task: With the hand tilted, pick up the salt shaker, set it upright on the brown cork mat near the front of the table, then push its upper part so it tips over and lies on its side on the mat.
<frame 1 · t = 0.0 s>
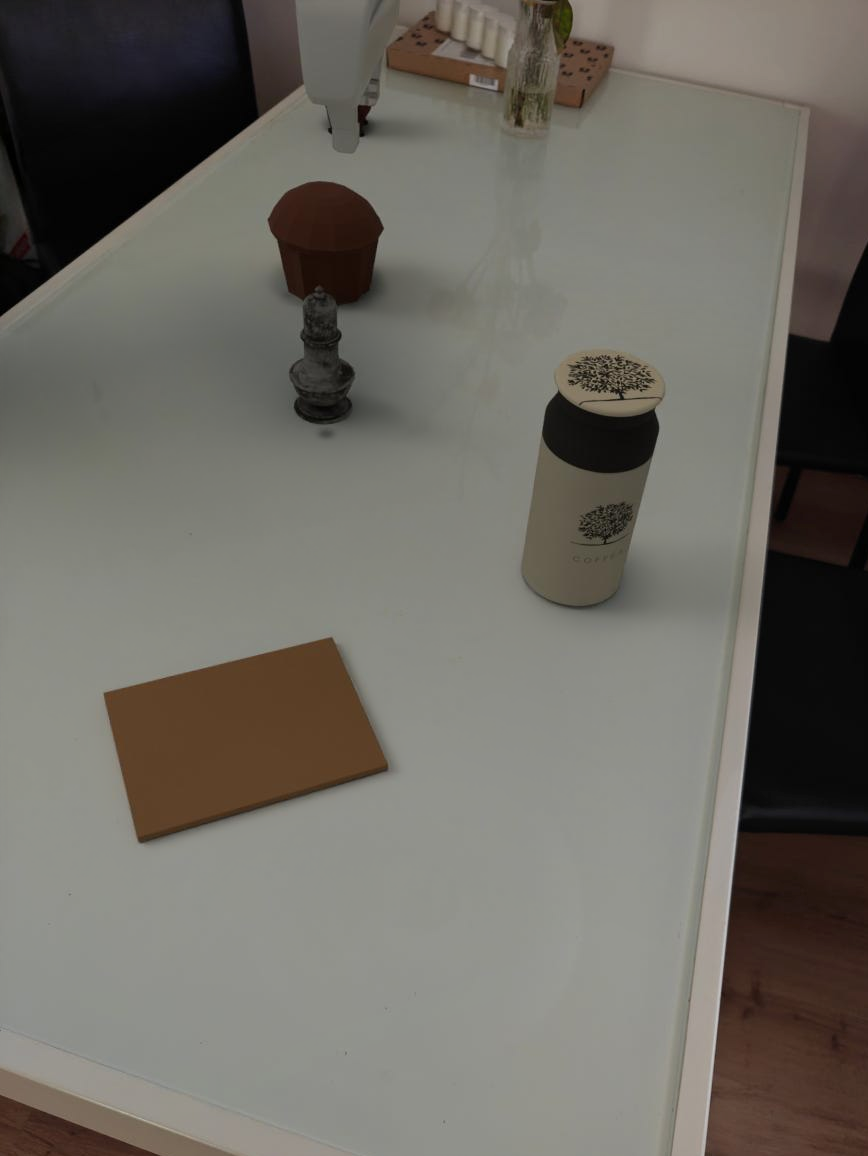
hand: (357, 125, 80), 23 cm above the table, tool pointing down, fingers open, 8 cm apart
cork mat: (244, 733, 68), on the table
travel mug: (570, 575, 82), on the table
salt shaker: (323, 408, 94), on the table
mate gourd: (347, 128, 137), on the table
muffin: (327, 286, 109), on the table
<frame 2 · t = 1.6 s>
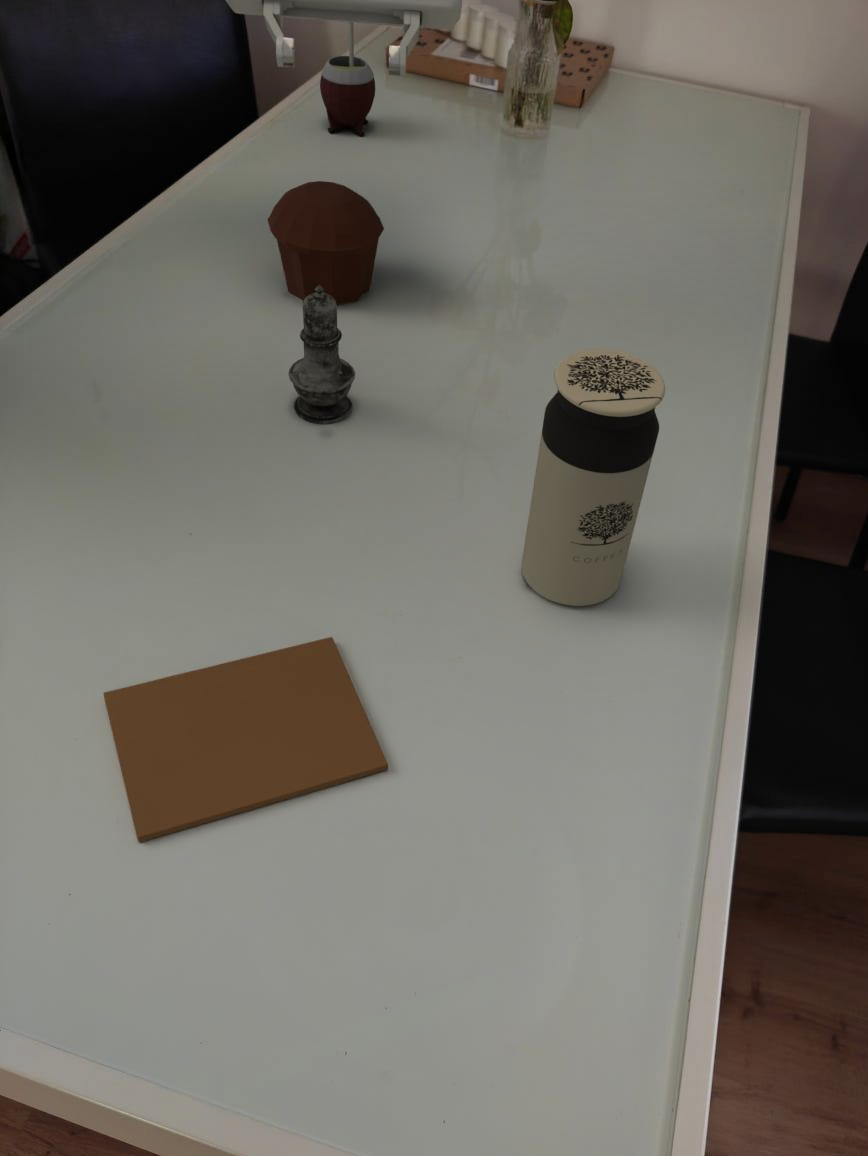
hand: (341, 68, 87), 23 cm above the table, tool tilted 45°, fingers open, 8 cm apart
nothing on the table moved.
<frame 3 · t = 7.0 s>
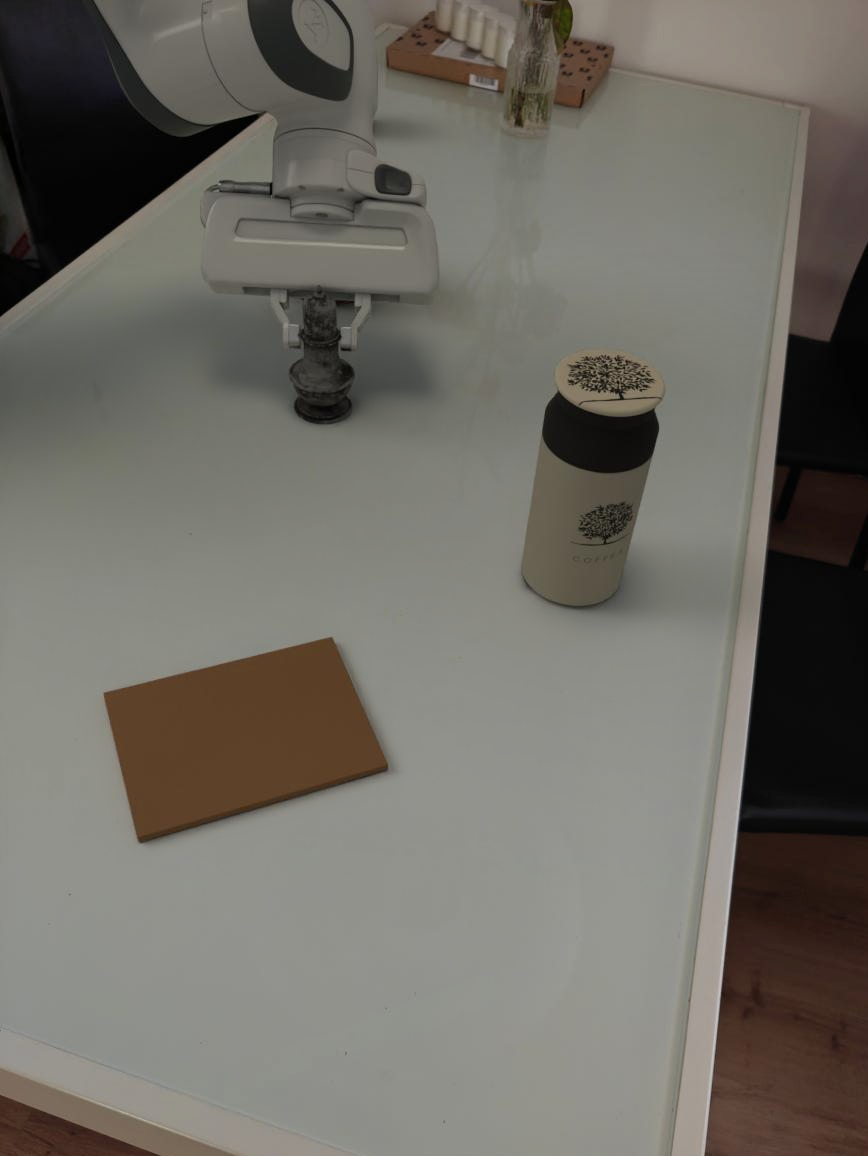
hand: (320, 349, 89), 6 cm above the table, tool tilted 45°, fingers closed on salt shaker, 3 cm apart
salt shaker: (323, 408, 94), on the table, touching gripper
everything else where it was.
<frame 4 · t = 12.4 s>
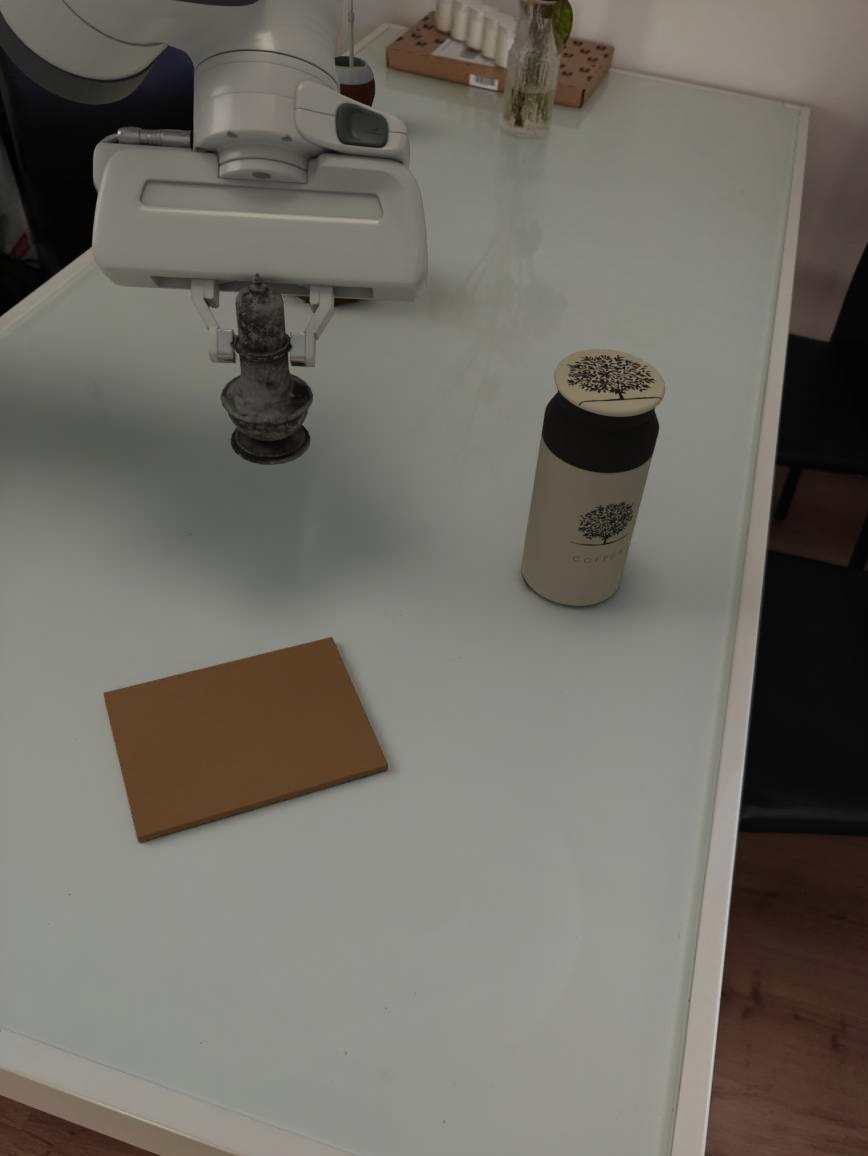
hand: (263, 363, 64), 19 cm above the table, tool tilted 45°, fingers closed on salt shaker, 3 cm apart
salt shaker: (270, 442, 69), point 13 cm above the table, touching gripper
everything else where it was.
when the fingers open (7 cm above the table, at t = 18.0 s): salt shaker stays where it is, resting on cork mat.
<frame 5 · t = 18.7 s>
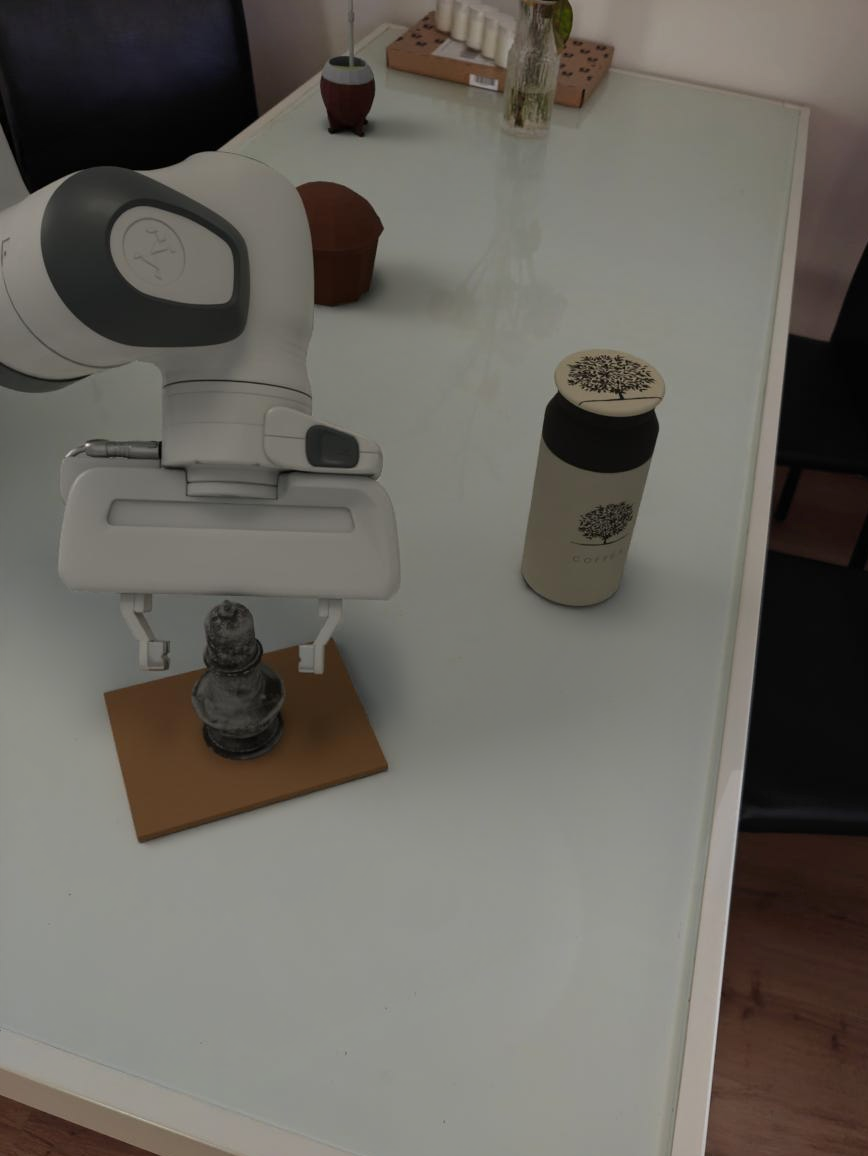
hand: (233, 672, 63), 7 cm above the table, tool tilted 45°, fingers open, 8 cm apart
salt shaker: (243, 729, 68), resting on cork mat
everything else where it was.
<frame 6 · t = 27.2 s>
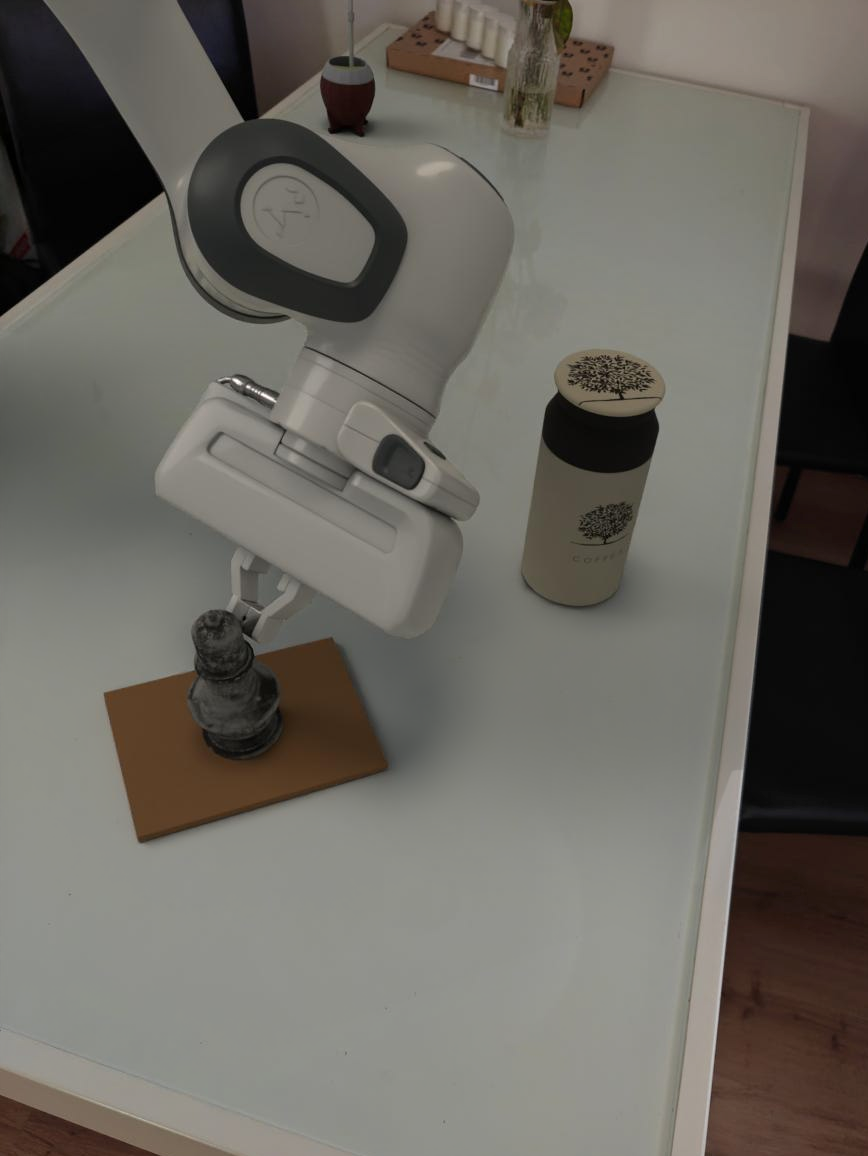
hand: (245, 633, 63), 9 cm above the table, tool tilted 45°, fingers closed, pressing on salt shaker
salt shaker: (243, 726, 68), point 1 cm above the table, touching cork mat, gripper
everything else where it was.
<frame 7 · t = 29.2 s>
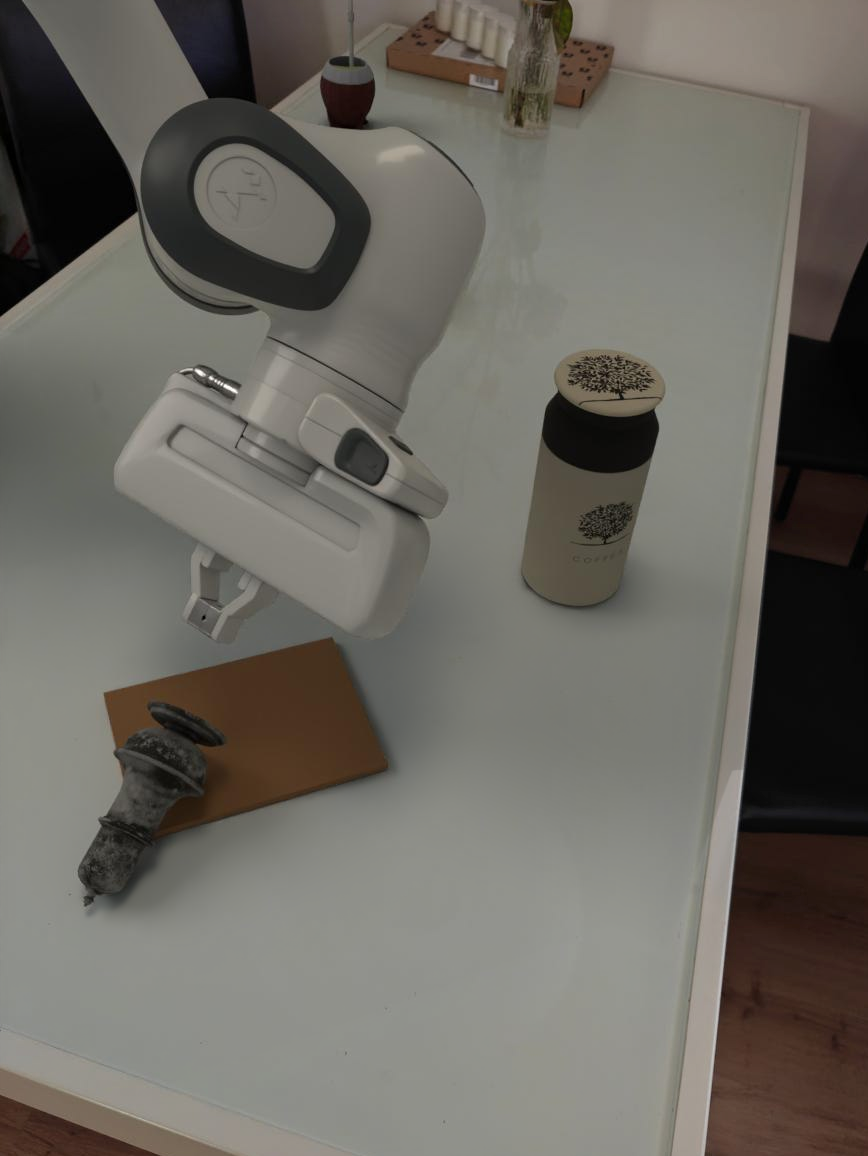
hand: (205, 632, 61), 10 cm above the table, tool tilted 45°, fingers closed
salt shaker: (188, 719, 63), point 5 cm above the table, touching cork mat
everything else where it was.
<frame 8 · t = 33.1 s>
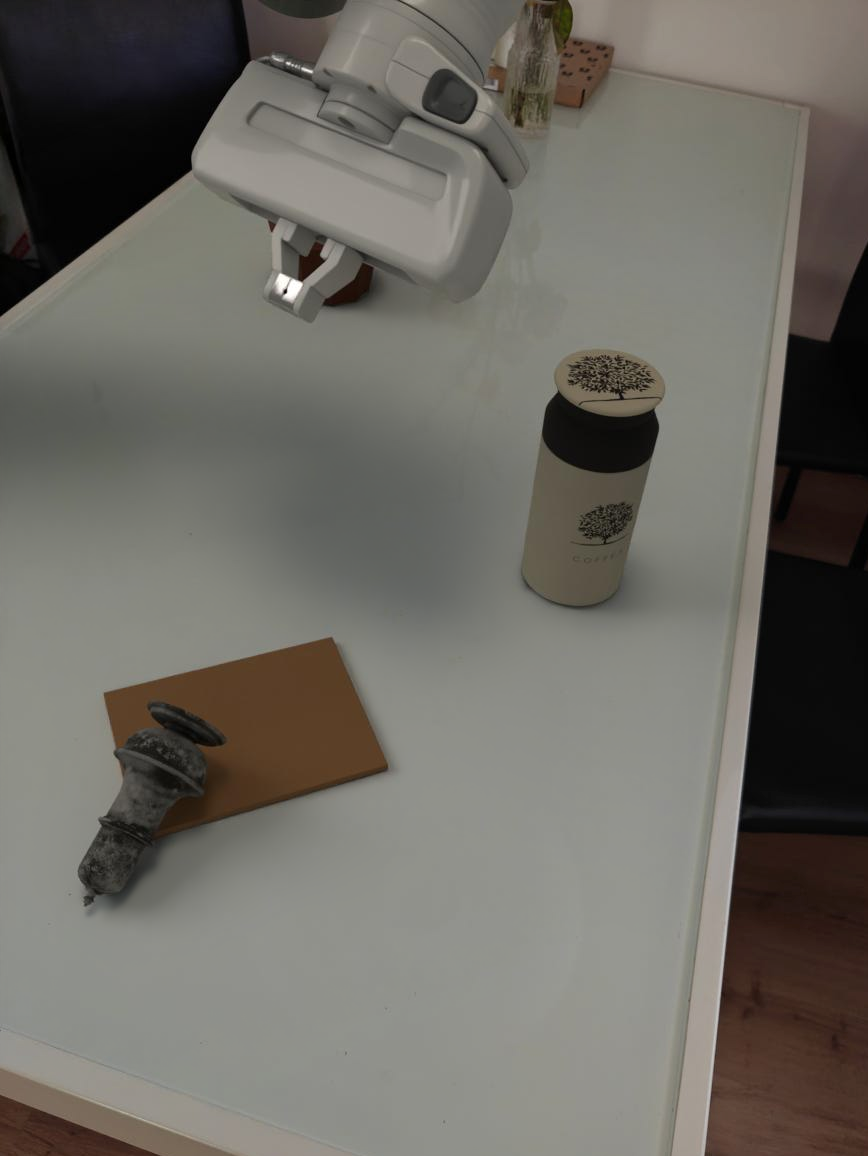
hand: (286, 311, 61), 23 cm above the table, tool tilted 45°, fingers closed
nothing on the table moved.
at the end: salt shaker tilted 107°; salt shaker inside the target area on the cork mat (3.7 cm from its centre), point 4.6 cm above the cork mat's base; the gripper is holding nothing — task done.
